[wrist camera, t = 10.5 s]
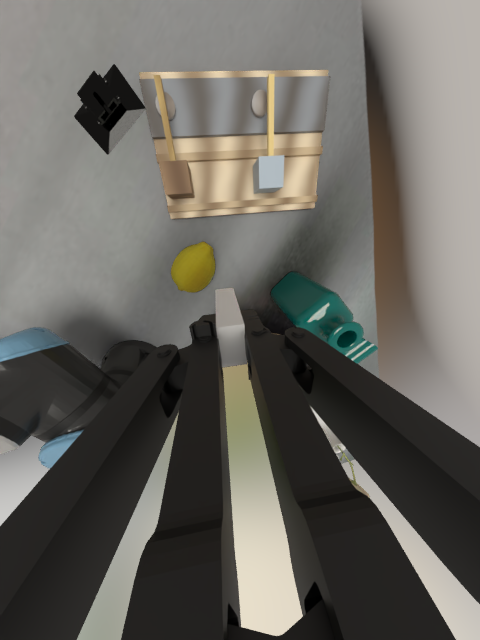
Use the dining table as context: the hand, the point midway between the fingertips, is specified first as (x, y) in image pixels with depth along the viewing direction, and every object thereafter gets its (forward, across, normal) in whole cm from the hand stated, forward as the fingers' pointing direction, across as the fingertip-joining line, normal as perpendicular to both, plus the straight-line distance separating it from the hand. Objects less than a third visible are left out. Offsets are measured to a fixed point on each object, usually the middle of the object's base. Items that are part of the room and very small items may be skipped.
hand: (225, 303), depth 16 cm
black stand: (+27, -14, +23) cm, 38 cm away
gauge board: (+26, +6, +17) cm, 32 cm away
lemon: (+27, -5, -1) cm, 27 cm away
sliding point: (+25, +10, +17) cm, 32 cm away
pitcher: (+27, +17, -10) cm, 33 cm away
